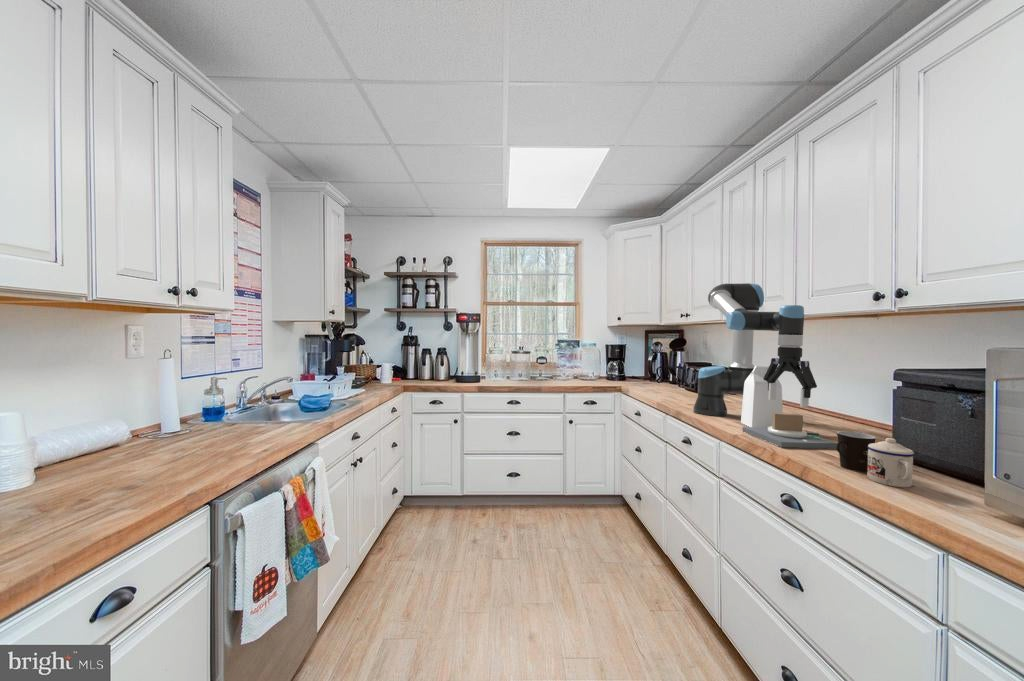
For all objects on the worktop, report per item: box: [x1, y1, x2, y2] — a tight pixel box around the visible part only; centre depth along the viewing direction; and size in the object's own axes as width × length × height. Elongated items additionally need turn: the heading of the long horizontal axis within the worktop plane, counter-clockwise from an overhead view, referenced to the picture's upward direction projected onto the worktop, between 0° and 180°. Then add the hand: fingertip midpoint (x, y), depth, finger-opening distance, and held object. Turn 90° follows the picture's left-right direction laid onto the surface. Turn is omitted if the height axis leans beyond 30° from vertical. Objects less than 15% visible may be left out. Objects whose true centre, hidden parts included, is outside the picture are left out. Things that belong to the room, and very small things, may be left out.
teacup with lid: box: [866, 437, 915, 488], centre depth 103 cm, size 12×9×12 cm
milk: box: [740, 365, 784, 427], centre depth 168 cm, size 12×12×26 cm
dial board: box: [742, 426, 838, 449], centre depth 146 cm, size 22×20×2 cm
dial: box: [768, 412, 820, 438], centre depth 145 cm, size 16×12×8 cm
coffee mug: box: [836, 430, 877, 473], centre depth 115 cm, size 12×9×10 cm
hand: (787, 403), depth 146 cm, fingers open, 13 cm apart
